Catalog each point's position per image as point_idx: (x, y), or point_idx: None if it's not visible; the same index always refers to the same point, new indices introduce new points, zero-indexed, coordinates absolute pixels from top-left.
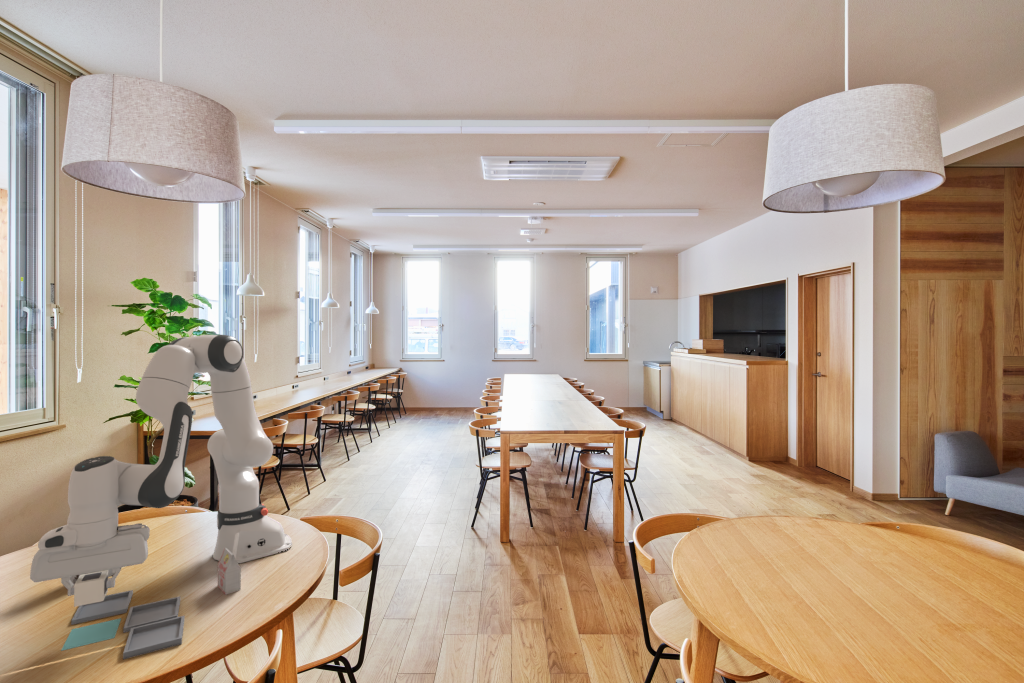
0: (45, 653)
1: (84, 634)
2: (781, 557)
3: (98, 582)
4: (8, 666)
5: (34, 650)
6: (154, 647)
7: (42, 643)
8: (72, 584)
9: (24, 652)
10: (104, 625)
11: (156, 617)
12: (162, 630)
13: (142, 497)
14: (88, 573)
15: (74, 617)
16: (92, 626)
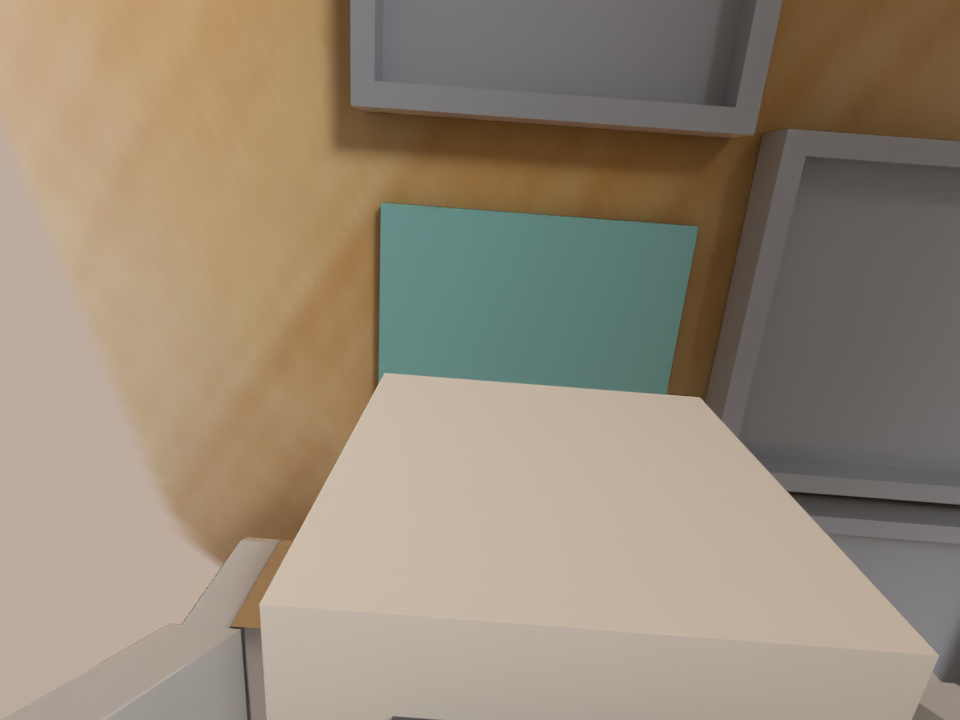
0: (298, 432)
1: (475, 346)
2: None
3: None
4: (149, 465)
5: (222, 354)
6: None
7: (239, 282)
8: (223, 685)
9: (171, 345)
10: (588, 283)
11: (910, 378)
12: (897, 572)
13: None
14: (455, 621)
15: (362, 49)
16: (512, 250)
